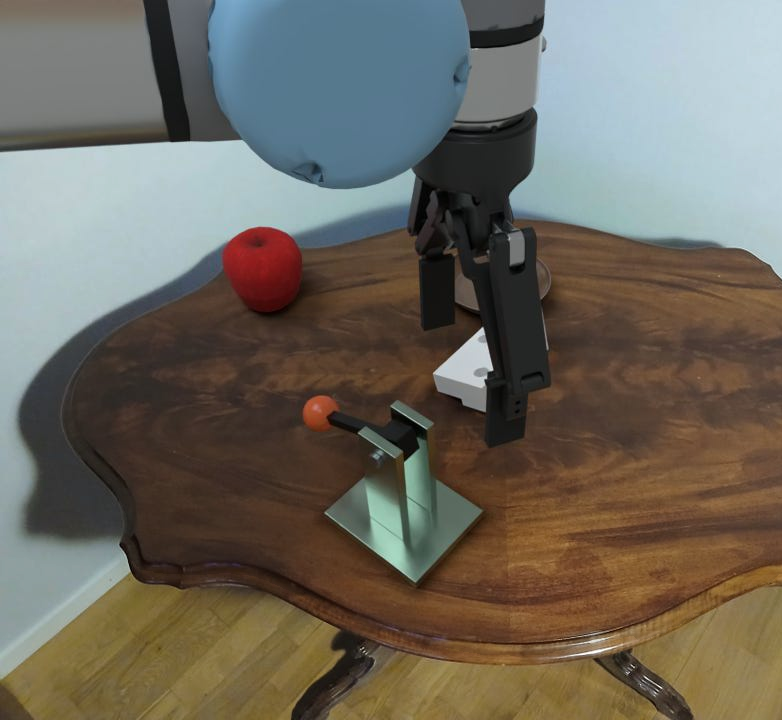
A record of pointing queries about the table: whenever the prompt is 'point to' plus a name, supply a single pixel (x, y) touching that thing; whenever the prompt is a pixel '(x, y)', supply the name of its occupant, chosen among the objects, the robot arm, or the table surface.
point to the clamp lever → (356, 424)
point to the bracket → (468, 372)
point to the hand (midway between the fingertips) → (468, 377)
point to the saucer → (466, 289)
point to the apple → (263, 268)
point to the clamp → (403, 503)
